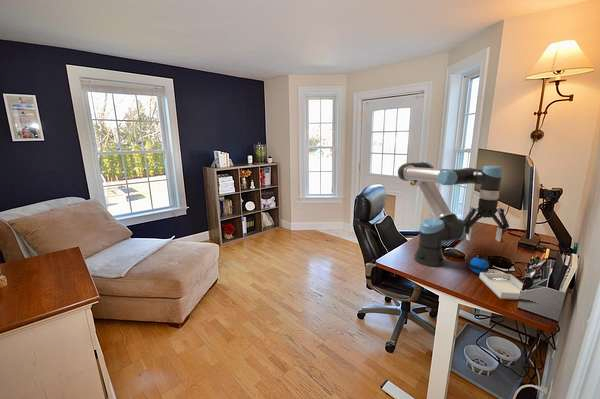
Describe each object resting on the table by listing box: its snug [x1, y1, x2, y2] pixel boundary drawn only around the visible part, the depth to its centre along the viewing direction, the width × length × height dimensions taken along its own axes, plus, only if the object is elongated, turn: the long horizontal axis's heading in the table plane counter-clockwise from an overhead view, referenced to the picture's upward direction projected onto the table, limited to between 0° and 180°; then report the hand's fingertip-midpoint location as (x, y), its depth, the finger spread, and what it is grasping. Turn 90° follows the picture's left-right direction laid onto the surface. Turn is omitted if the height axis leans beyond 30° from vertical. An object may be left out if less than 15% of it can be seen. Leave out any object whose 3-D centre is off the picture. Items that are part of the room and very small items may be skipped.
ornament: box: [468, 254, 490, 275], centre depth 133 cm, size 9×9×10 cm
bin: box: [478, 272, 524, 301], centre depth 120 cm, size 14×18×3 cm
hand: (482, 240), depth 130 cm, fingers open, 13 cm apart
